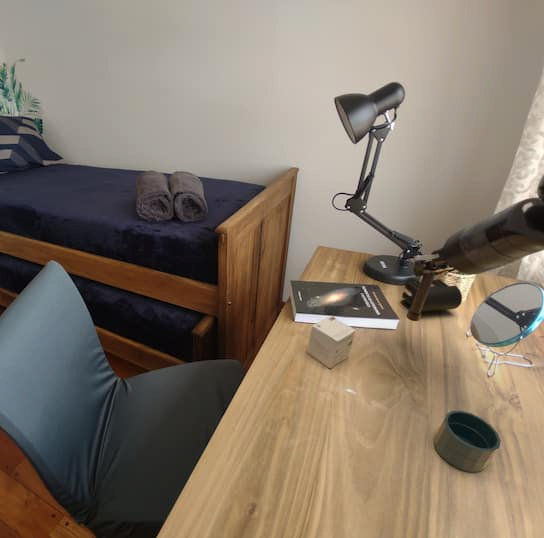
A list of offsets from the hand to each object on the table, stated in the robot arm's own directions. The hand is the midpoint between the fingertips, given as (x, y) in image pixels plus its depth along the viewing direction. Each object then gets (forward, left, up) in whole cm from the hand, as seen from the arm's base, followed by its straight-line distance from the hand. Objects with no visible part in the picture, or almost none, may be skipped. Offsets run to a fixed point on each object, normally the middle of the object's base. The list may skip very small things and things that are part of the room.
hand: (422, 272), depth 72 cm
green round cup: (+5, +28, -17) cm, 33 cm away
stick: (0, +2, -10) cm, 10 cm away
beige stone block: (+18, +6, -17) cm, 25 cm away
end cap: (-12, -9, -17) cm, 23 cm away
